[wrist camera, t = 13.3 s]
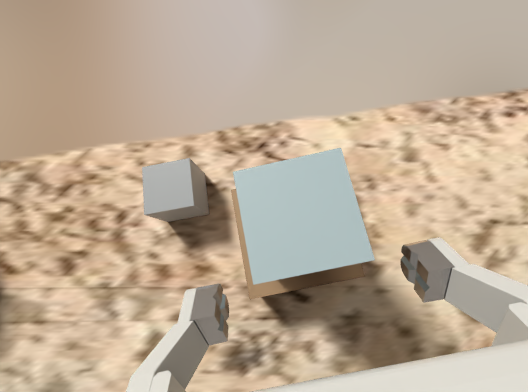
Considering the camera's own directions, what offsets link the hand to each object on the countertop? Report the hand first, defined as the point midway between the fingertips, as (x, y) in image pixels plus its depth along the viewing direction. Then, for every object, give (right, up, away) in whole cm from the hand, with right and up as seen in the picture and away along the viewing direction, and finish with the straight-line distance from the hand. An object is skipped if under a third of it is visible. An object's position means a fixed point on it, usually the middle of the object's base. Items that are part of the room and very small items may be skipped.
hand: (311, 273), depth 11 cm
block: (-9, +3, +13) cm, 16 cm away
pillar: (0, +1, +7) cm, 7 cm away
